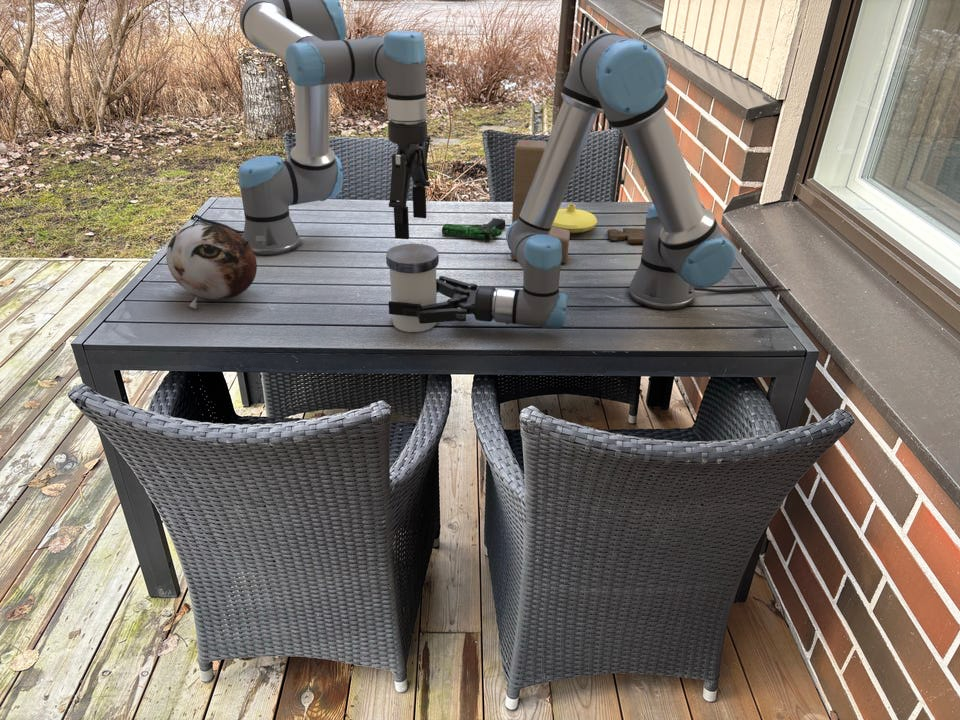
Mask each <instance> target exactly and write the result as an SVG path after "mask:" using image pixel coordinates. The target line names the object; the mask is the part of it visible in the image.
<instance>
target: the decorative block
mask: <svg viewBox="0 0 960 720" xmlns="http://www.w3.org/2000/svg"><path fill="white" fill-rule="evenodd" d="M547 143H548V141H546V140H533V139H518V140H517V142H516V145H515V146H514V162H513V163H514V164H513V165H514V166H513V167H514V168H513V186H512V187H513V188H512V189H513V190H512V191H513V192H512V216H511V218H512V219H511V224H512V223H514V222H515V221H517V220H518V218H519V215H520V213H521V210H522V208H523V205H524V203H525V200H526V197H527V195H528V192H529V190H530V187H531V184H532V182H533V179H534V176H535V174H536V171H537V169H538V166H539V163H540V161H541V158H542V156H543V153H544V150H545V148H546V145H547ZM570 234H571V233H570V232H569V231H568V230H565V229H560V228H556V227H553V226H552V227H551V230H550V232H549V235H551V236H553V237H556V238H558V239H559V240H560V241H561V244H562V261H561V264H567V263H568V259H569V258H568V257H569V247H570V236H571V235H570ZM510 259H511V260H513V261H518V260H517V259H516V257H515V256H514V254H513V253H512V252H511V251H510Z"/></svg>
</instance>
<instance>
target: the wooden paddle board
mask: <svg viewBox="0 0 960 720" xmlns="http://www.w3.org/2000/svg"><path fill="white" fill-rule="evenodd" d="M644 232H645V228H635V227H634V228H630V227H629V228H628V227H625V228H622V230H618V229H616V228H612V229H611V228H610V229H607V231H606V233H607V236H608V239H609V241H611V242H618V241H624V240H627V243H628V244H643V240H644Z"/></svg>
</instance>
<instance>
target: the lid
mask: <svg viewBox="0 0 960 720" xmlns="http://www.w3.org/2000/svg"><path fill="white" fill-rule="evenodd" d="M439 255H440V254H439V251H438V249H436V247H434V246H431V245H428V244H424V243H405V244H399V245H395V246H393V247H391V248H389V249H388V250H387V251H386V253H385V261H386V262H385V263H386V266H387V267H388V268H389V270H390V269H392V270H394V271H397V272H401V273H422V272H426V271H430V270H432V269H434V268H435V267H436V268H437V267H438V265H439V262H440V256H439Z"/></svg>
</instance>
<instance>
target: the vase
mask: <svg viewBox="0 0 960 720" xmlns="http://www.w3.org/2000/svg"><path fill="white" fill-rule="evenodd" d="M597 223H598V219H597V217H596V215H595V214H593V213H591V212H589V211H587V210H584V209H578V208H576V205H575V204H571V203H570V204H567V208H559V210H558V212H557V215H556V217H555V219H554V222H553V224H552V226H553V227H556V228H560V229H565V230H568V231H569V232H570V234H580V233H584V232H585V233H586V232H587V231H591V230H592V229H594V228H596V226H597Z"/></svg>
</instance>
